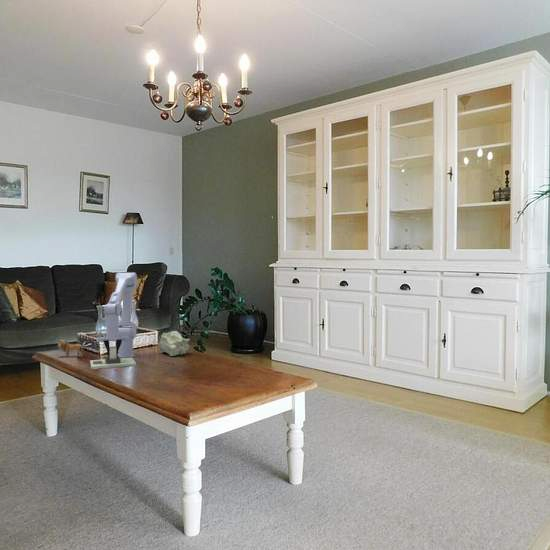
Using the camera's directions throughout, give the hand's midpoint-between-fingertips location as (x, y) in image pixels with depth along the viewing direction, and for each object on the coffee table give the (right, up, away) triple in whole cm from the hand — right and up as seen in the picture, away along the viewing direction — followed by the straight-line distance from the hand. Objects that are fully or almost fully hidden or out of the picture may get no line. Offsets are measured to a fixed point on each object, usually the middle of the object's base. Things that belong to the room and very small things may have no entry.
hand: (112, 355), depth 237 cm
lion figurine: (-27, -4, +17) cm, 32 cm away
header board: (0, -4, 0) cm, 4 cm away
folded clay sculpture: (+25, -4, +26) cm, 36 cm away
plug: (0, -2, 0) cm, 2 cm away
